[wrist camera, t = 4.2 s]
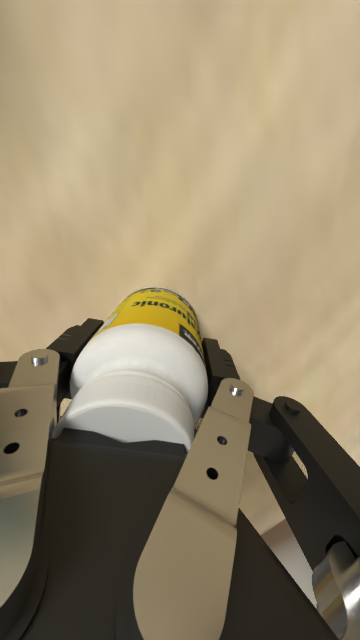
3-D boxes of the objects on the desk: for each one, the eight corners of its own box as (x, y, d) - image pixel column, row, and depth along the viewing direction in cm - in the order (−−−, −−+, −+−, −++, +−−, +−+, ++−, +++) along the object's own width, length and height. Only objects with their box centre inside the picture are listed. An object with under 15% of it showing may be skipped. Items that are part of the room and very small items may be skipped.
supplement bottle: (214, 316, 15) (264, 449, 6) (166, 370, 17) (148, 541, 8) (146, 265, 14) (79, 338, 5) (102, 330, 15) (-11, 475, 6)
